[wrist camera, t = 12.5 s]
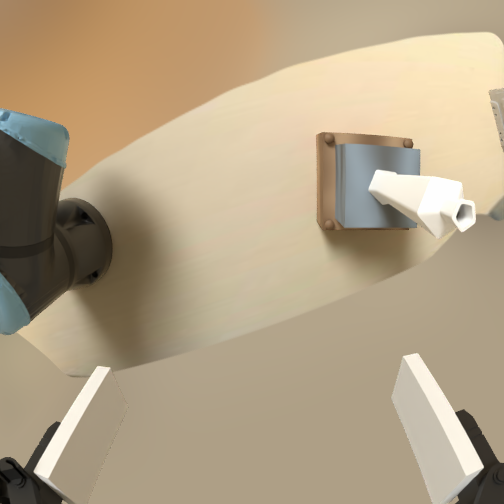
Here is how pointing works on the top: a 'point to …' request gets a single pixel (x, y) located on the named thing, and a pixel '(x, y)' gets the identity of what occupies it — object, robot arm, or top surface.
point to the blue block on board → (360, 180)
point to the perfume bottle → (425, 201)
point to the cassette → (498, 111)
